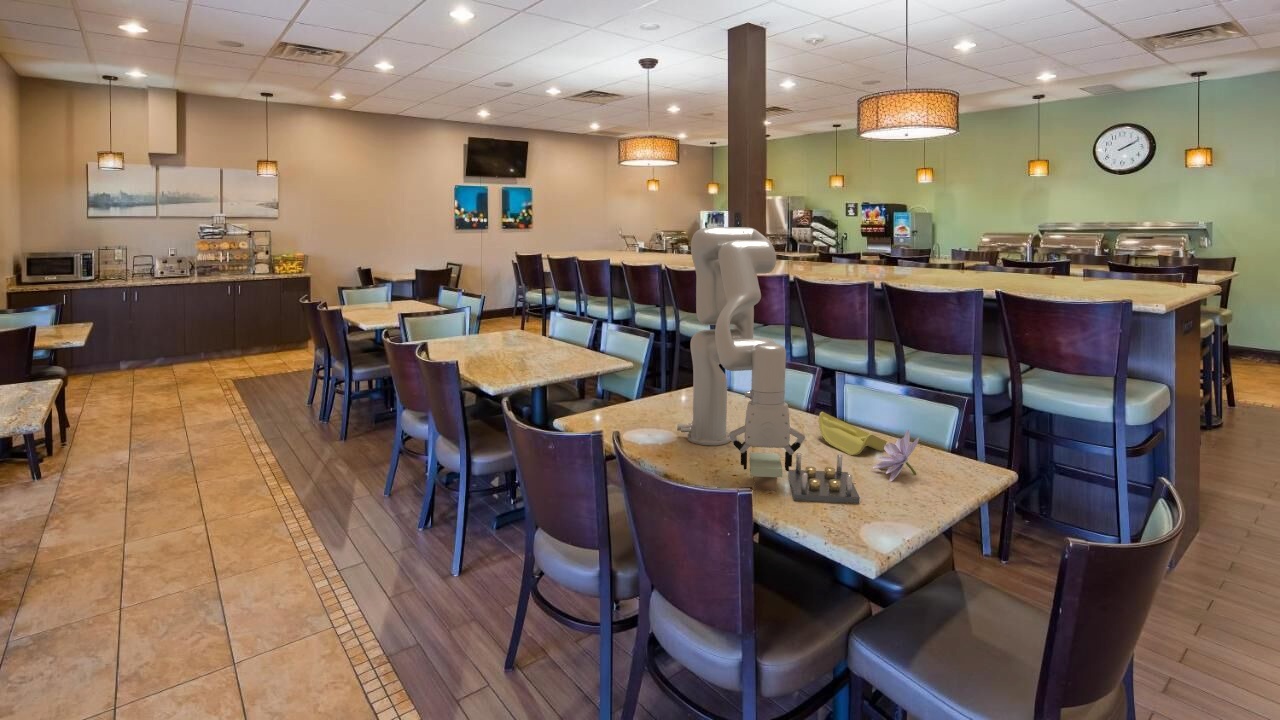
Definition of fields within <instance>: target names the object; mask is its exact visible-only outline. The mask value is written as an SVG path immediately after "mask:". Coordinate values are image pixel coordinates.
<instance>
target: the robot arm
mask: <svg viewBox="0 0 1280 720" xmlns="http://www.w3.org/2000/svg"><path fill="white" fill-rule="evenodd" d="M690 253H691V259H692V263H693V266H694V270H695V274H696V284H695V285H696V286H695V288H696V289H695V290H696V291H695V292H696V293H695V297H696V300H695V304H696V305H695V307H696V310H695V311H696V312H695V313H696V318H697V320H698V322H699V323H700V324H702V325H706V326H707V325H709V326H715V329H714V328H713V329H704V330H699V331H698V332H696V333H695V334H693V335H692V337H691V338H690V344H689V345H690V353H691V361H692V370H693V372H692V373H693V374H692V375H693V376H692V377H693V381H692V383H693V386H692V387H693V388H692V389H693V391H692V392H693V393H692V396H693V397H692V404H693V405H692V421H691V423H690V422H689V423H688V424H683V423H678V424H677V426H676V429H677V431H678V432H679V431H680V432H681V433H687V435H686V436H687V440H688V441H689V442H690V443H693V444H696V445H702V446H723V445H726V444H728V443H730V442H732V444H733V446H734V447H735V448H736V449H737V450H738V451H739V452H740V465H741V466H743V470H747V469H748V449H749V448H751V447H752V448H772V449H775V448H776V449H781V448H784V450H785V452H784V469H785V471H786V472H788V471H789V470H790V468H793V455H794V453H795V452H796V451H798V450H799V449H800V448H801V446H802V444H803V443H804V441H805V439H806V436H805V434H804V433H803V432H800V431H799V430H796V429H795V428H793V427H791V426H790V424H791V422H790V420H791V419H790V411H789V405H788V403H787V402H785V396H786V395H785V393H786V392H785V391H786V362H787V361H786V360H787V357H786V356H787V350H786V348H785V346H784V345H782V344H780V343H776V341H774V340H773V339H771V338H768V337H767V338H766V337H761V338H760V337H759V338H754V326H755V325H754V324H755V323H754V321H755V320H754V318H755V309H754V308H755V307H754V306H755V305H757V304H759V302H760V300H761V298H762V293H761V289H760V285H759V279H758V275H761V274H765V275H766V274H769V273H771V272H773V270H775V267H776V265H777V253H776V250H775V247H774V246H773V243H772V242H771V241H770V240H769V239H768V238H767V237H766V236H764V235H763V234H762V233H761V232H759V231H758V230H757V229H755V228H753V227H748V226H747V227H745V226H743V227H742V226H740V227H739V226H738V227H737V226H736V227H735V226H734V227H733V226H730V227H729V226H728V227H727V226H714V227H713V226H711V227H710V226H709V227H704V228H703V227H702V228H700V229H698V230H695V232H694V233H693V235H692V238H691V241H690ZM731 325H732V326H733V328H731ZM720 365H721V367H723V368H724V370H727V371H729V372H738V371H739V372H741V371H742V372H743V371H751V390H748V391H745V392H744V398H748V399H750V401H748V403H747V407H746V412H745V419H744V420H745V421H744V422H745V423H744V425H743V426H741V427H738V428H736V429H735V430H732V431H729V432H727V408H728V378H727V376H726V374H725V372H724V371H723V370H722V368H721V367H720ZM742 434H744V441H743V442H741V441H740V440H738V438H737V436H739V435H742ZM791 436H794V437H795V438H796V440H795V442H793V443H792V444H790V442H791V441H790V439H791V438H790V437H791Z"/></svg>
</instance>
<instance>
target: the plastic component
mask: <svg viewBox="0 0 1280 720" xmlns="http://www.w3.org/2000/svg"><path fill="white" fill-rule="evenodd" d="M818 427H819V432H820V434H821V436H822V438H823V439H824V440H825V441H826V443H828V444H829V445H830V446H832V447H834V448H836V449H837V450H840V451H842V452H843V453H846V454H848V455H850V456H857V455H859V454H861V453H862V451H863V450H864V449H865V448H866V447H867V446H868V447H869V448H871V449H874V450H877V451H878V452H883V451H884V450H885V448H884V446H885V445H887V442H888V441H886V440H884V439H883V438H880V437H878V436H876V435H874V434H872V433H869V432H867V431H865V430H863V429H860V428H858V427H856V426H854V425H852V424H850V423H847V422H846V421H843V420H841V419H839V418H836V417H835V416H833V415H830V414H828V413H826V412H824V411H820V412H819V416H818Z"/></svg>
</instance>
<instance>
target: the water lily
mask: <svg viewBox="0 0 1280 720" xmlns="http://www.w3.org/2000/svg"><path fill="white" fill-rule="evenodd" d="M910 437H911V436H910V429H907V430H906V432H905V433H904V436H902V438H897V439H896V441H895V443H893V442H889V443H888V444H887V443H886V445H885V446H884V451H885V452H886V453H887V455H888V456H880V457H877V460H878V461H881V462H879V463H877V464H875V465H873V466H872V469H887V470H886V472H885V474H886V475H887V474H890V473H891V474H890V477H889V482H892V481H894V480H895V479H896V478H897V477H898V476H899V474H900V473H901V471H902V469H903V468H904V465H906V466H907V467H908V468H909V469H910V470H911V473H913V475H914V474H915V475H917V474H918V473H917V472H916V470H915V469H914V468H913V466H911V464H910V463H909V462H908V461H909V457H910V456H911V455H912V454H913V452H914V450H915V449H916V447H917V445H918V444H919V440H920V436H919V437H917V438H916V439H914V441H913V442H912V440H911V438H910ZM910 440H911V441H910Z"/></svg>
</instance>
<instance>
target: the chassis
mask: <svg viewBox="0 0 1280 720" xmlns="http://www.w3.org/2000/svg"><path fill="white" fill-rule="evenodd" d="M795 456H796V457H795V469H789V471H787V473H788V474H787V475H788V481H789V485H790V489H791V493H792V497H793V501H794V502H812V503H813V502H814V503H831V504H833V503H835V504H853V505H854V504H855V505H856V504H857V505H859V504H860V503H861V501H860V499H861V497H860V495H859V493H858V490H857V489H856V487H855V484H854V482H853V475H852V474H850V473H849V472H848V471H843V470H842V469H843V454H837V455H836V469H835V467H831V466H829V467H828V466H827V467H824V470H817V468H816V467H815V466H805V470H804V469H803V470H802V468H801V467H802V453H800V452H797V453H796V454H795Z"/></svg>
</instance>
